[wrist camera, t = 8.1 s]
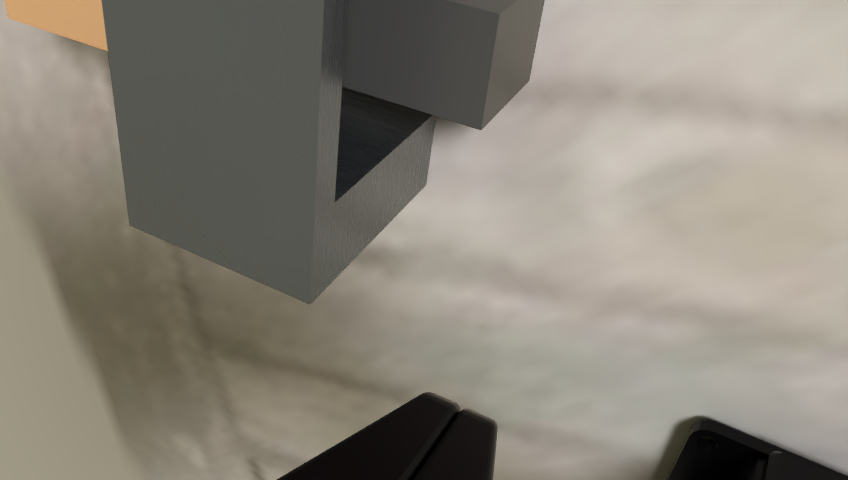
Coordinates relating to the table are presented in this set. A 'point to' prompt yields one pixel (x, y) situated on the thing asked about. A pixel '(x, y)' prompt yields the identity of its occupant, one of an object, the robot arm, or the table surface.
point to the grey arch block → (257, 136)
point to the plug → (389, 49)
